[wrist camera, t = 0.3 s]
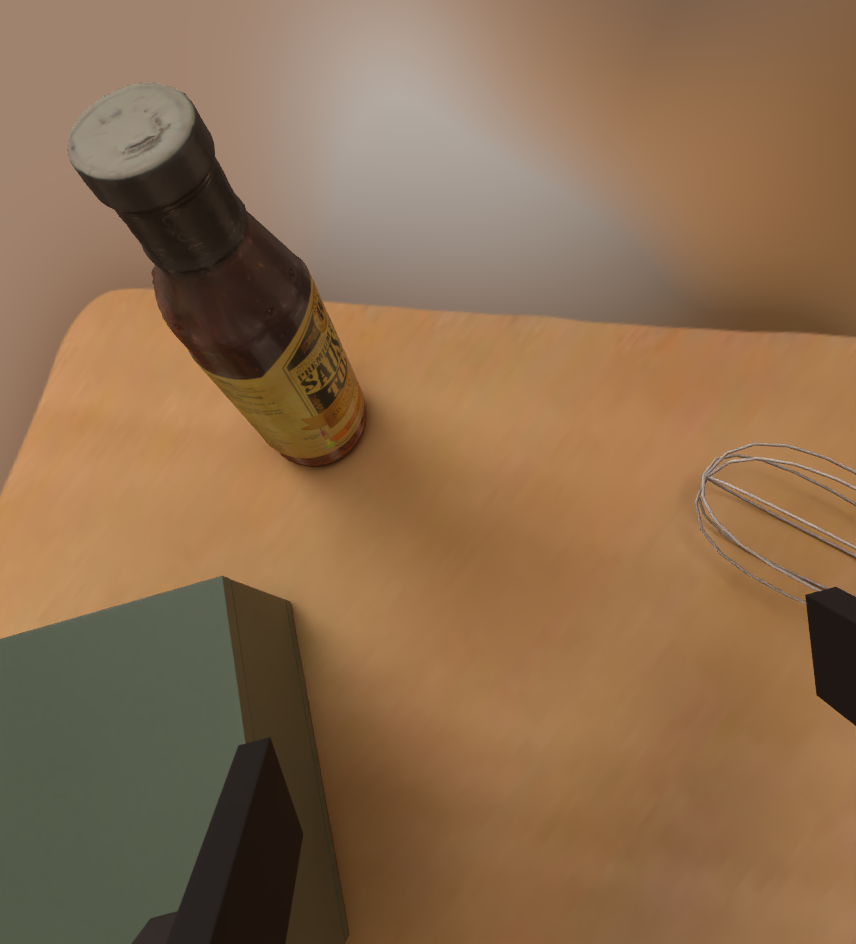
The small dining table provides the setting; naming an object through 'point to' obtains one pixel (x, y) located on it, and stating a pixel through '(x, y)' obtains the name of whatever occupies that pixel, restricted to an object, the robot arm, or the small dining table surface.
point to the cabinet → (148, 760)
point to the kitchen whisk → (789, 573)
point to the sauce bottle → (221, 272)
